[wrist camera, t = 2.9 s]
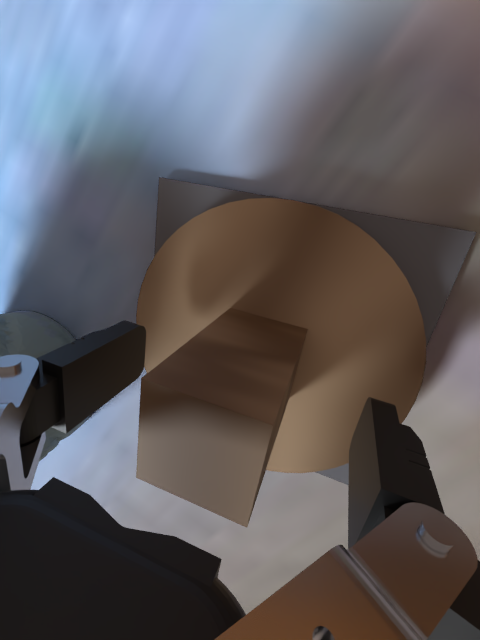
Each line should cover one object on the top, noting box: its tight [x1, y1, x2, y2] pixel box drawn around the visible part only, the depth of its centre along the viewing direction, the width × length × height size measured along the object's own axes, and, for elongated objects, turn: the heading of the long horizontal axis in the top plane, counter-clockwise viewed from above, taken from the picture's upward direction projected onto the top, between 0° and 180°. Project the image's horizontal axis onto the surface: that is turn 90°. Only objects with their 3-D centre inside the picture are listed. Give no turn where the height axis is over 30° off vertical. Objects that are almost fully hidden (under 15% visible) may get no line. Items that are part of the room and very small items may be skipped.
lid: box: [136, 198, 426, 527], centre depth 11 cm, size 12×12×7 cm
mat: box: [154, 177, 476, 485], centre depth 14 cm, size 12×12×1 cm
